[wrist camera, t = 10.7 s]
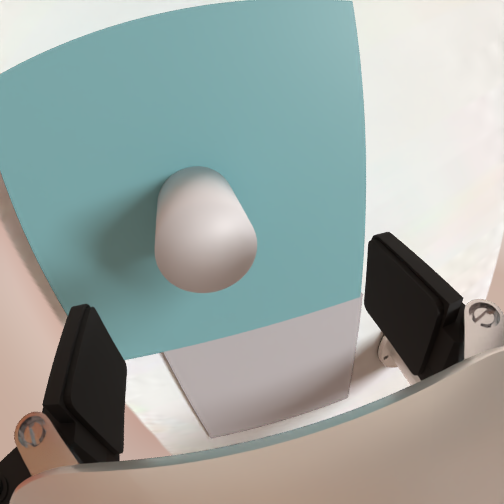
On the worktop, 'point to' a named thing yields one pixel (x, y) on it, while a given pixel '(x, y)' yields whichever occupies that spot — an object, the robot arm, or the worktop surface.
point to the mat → (270, 370)
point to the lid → (194, 168)
